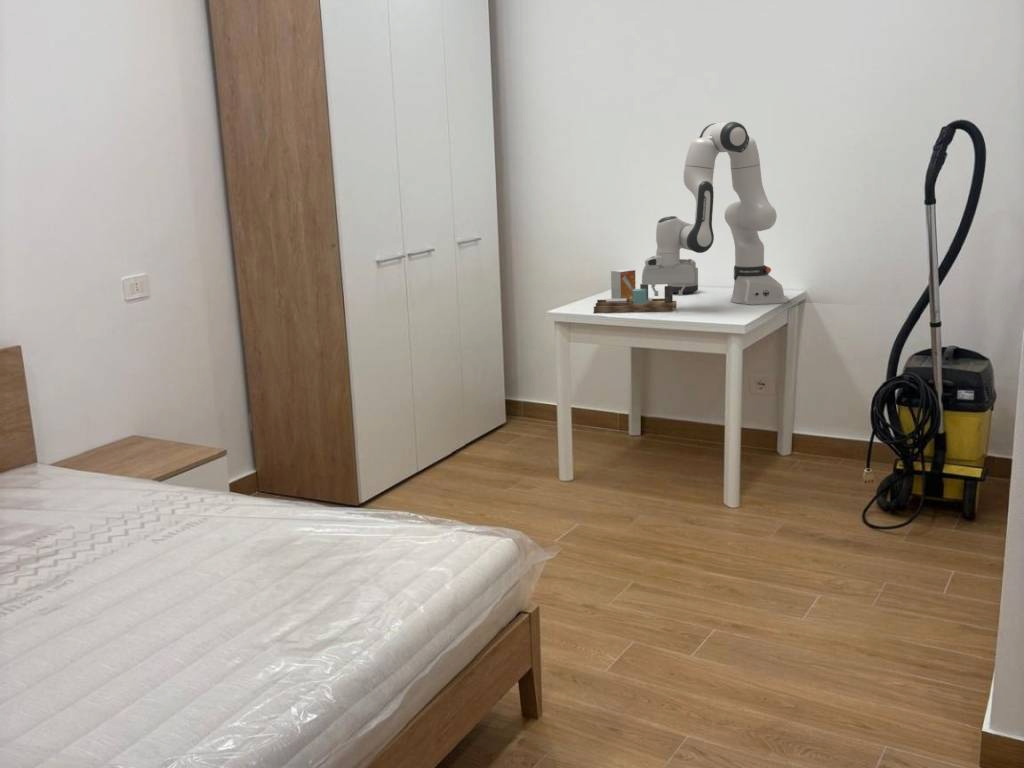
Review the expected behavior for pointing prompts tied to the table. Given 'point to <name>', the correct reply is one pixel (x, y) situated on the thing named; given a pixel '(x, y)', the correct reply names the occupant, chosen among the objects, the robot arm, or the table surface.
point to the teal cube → (639, 296)
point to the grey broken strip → (626, 298)
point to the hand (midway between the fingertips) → (668, 295)
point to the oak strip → (667, 301)
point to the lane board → (629, 307)
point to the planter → (686, 285)
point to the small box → (622, 283)
